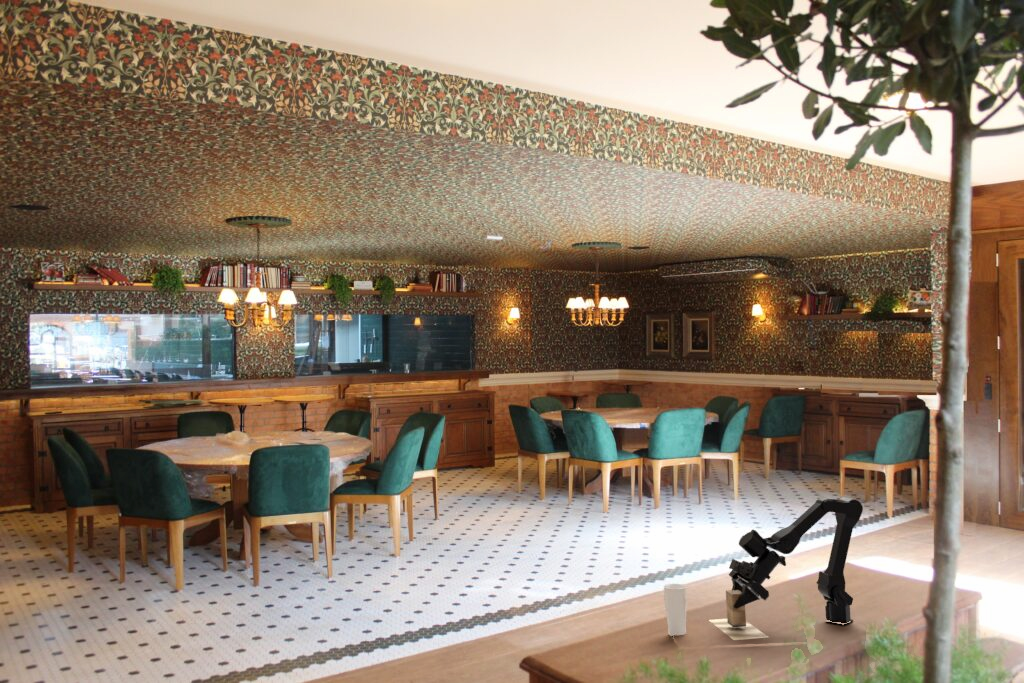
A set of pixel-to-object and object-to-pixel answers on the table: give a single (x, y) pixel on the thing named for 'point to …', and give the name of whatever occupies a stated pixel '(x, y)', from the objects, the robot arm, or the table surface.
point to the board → (738, 630)
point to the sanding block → (735, 615)
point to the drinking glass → (675, 608)
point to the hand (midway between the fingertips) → (731, 605)
